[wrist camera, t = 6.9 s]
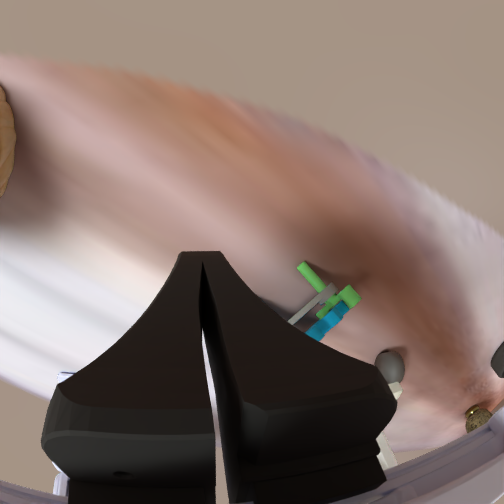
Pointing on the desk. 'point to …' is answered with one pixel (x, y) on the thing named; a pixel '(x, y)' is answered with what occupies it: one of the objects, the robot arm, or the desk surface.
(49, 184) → the desk surface
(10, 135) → the statue
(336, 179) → the desk surface
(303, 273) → the blue green toy
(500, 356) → the smart speaker
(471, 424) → the cup
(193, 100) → the desk surface
